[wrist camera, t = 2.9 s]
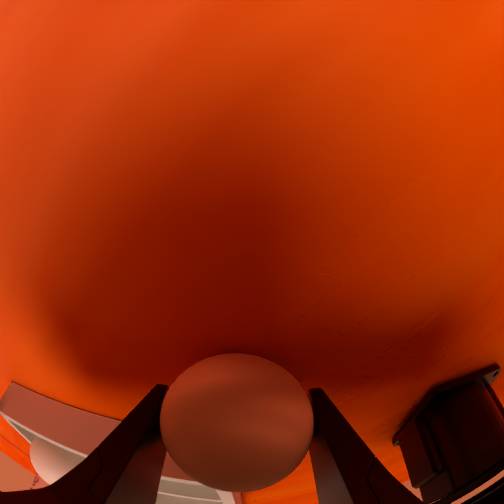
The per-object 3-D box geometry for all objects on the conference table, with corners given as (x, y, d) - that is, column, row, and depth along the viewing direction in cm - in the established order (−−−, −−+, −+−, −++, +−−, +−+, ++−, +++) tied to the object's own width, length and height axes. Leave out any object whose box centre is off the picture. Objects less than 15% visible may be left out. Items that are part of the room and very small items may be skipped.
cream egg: (79, 431, 12) (58, 487, 7) (107, 459, 14) (93, 507, 9) (32, 411, 12) (9, 457, 7) (61, 442, 14) (45, 483, 9)
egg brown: (312, 321, 8) (344, 458, 4) (296, 403, 10) (307, 501, 6) (164, 319, 9) (117, 447, 4) (187, 400, 11) (169, 496, 6)
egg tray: (232, 436, 12) (228, 484, 9) (243, 505, 21) (242, 524, 19) (11, 381, 12) (-5, 408, 9) (114, 483, 21) (109, 500, 19)
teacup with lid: (35, 471, 43) (27, 494, 32) (58, 485, 45) (50, 507, 35) (36, 473, 47) (29, 494, 36) (56, 485, 49) (50, 506, 39)
